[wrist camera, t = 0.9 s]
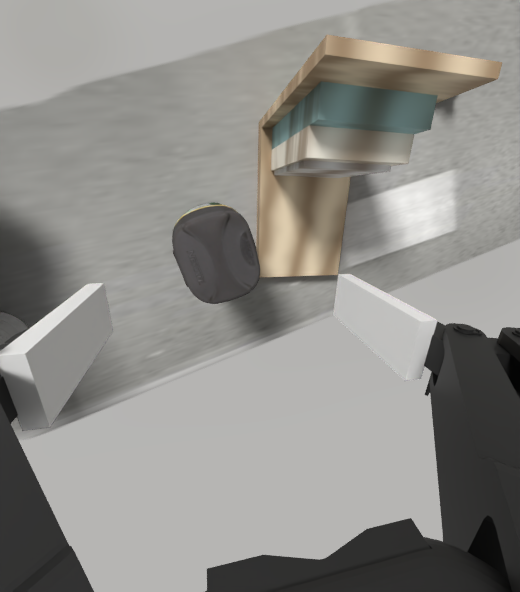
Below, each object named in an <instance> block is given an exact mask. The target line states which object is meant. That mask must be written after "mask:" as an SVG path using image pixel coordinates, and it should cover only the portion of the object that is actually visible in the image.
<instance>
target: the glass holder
mask: <svg viewBox="0 0 520 592" xmlns="http://www.w3.org/2000/svg"><path fill="white" fill-rule="evenodd" d="M26 329H28V327H27V326H26V325H25V324H24V323H23V322H22V321H21V320H20V319H18V318H16V317H14V316H12V315H10V314H7V313H3V312H0V345H1V344H4V342H6V341H7V340H8V339H10V338H11V337H12V336H14V335H15V334H17V333H20V332H22V331H24V330H26Z"/></svg>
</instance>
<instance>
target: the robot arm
mask: <svg viewBox="0 0 520 592" xmlns="http://www.w3.org/2000/svg"><path fill="white" fill-rule="evenodd" d="M333 316H335V317H336V318H337V319H338V320H339V321H340V322H341V323H342V324H343V325H344V326H346V327H347V328H348V329H349V330H350V331H351V332H352V333H353V334H354V335H355V336H356V337H358V338H359V339H360V340H361V341H362V342H363V343H364V344H365V345H366V346H367V347H369V348H370V349H371V350H372V351H373V352H374V353H375V354H376V355H377V356H378V357H380V358H381V359H382V360H383V361H384V362H385V363H386V364H387V365H388V366H389V367H391V368H392V369H393V370H394V371H395V372H396V373H397V374H398V375H399V376H400V377H402V378H403V379H404V380H405V381H408V380H415V379H421V376H422V373H423V370H424V366H425V367H427V368H428V369H429V370H431V371H432V373H431V376H430V379H429V383H428V386H427V389H426V393H425V395H427V396H428V394H429V393H431V404H432V416H433V427H434V439H435V450H436V461H437V473H438V484H439V495H440V506H441V516H442V517H441V518H442V529H443V542H442V541H439V540H434V539H430V538H425V537H423V536H422V535H421V533H420V531H419V530H418V529H417V527H416V525H415V524H414V522H413V521H412V519H411V518H410V519H406V520H402V521H398V522H394V523H390V524H385V525H382V526H377V527H373V528H369V529H366V530H365V531H364V532H362V533H361V534H359V535H358V536H356V537H355V538H354V539H352V540H351V541H349V542H348V543H347V544H346V545H344V546H342V547H341V548H340V549H338V550H337V551H336V552H334V553H333V554H331V555H330V556H329V557H327V558H325V559H321V560H315V559H304V558H293V557H281V556H270V555H261V556H257V557H253V558H249V559H245V560H241V561H237V562H233V563H229V564H225V565H221V566H217V567H213V568H208V569H207V591H205V592H520V328H510V327H506V328H502V330H501V332H500V335H499V337H498V339H497V338H487V337H486V335H485V334H484V333H483V332H482V331H480V330H478V329H475V328H473V327H471V326H469V325H465V324H455V323H454V324H447V325H446V326H445V325H443V324H441V323H439V322H438V321H437V320H436V319H434V318H432V317H430V316H429V315H427V314H425V313H423V312H421V311H419V310H417V309H415V308H414V307H412V306H410V305H408V304H406V303H404V302H402V301H400V300H398V299H397V298H395V297H392V296H391V295H389V294H387V293H385V292H383V291H381V290H379V289H378V288H376V287H374V286H372V285H370V284H368V283H366V282H364V281H362V280H361V279H359V278H357V277H355V276H353V275H351V274H339V275H338V282H337V290H336V298H335V305H334V313H333ZM112 332H113V326H112V321H111V316H110V311H109V306H108V301H107V296H106V290H105V285H104V283H95V284H87V285H85V286H84V287H83V288H82V289H80V290H79V291H78V292H76V293H75V294H74V295H72V296H71V297H70V298H69V299H67V300H66V301H65V302H63V303H62V304H61V305H59V306H58V307H57V308H56V309H54V310H53V311H52V312H50V313H49V314H48V315H46V316H45V317H44V318H43V319H41V320H40V321H39V322H37V323H36V324H35V325H33V326H32V327H31V328H28V329H26V330H24V331H22V332H20V333H17V334H15V335H14V336H12V337H11V338H10V339H8V340H7V341H6V342H4V344H1V345H0V592H94V591H93V589H92V587H91V585H90V583H89V581H88V578H87V576H86V574H85V573H84V570H83V568H82V566H81V564H80V562H79V560H78V558H77V557H76V554H75V552H74V551H73V549H72V547H71V546H69V544H68V543H67V540H66V538H65V536H64V534H63V532H62V530H61V528H60V526H59V524H58V522H57V520H56V518H55V516H54V514H53V511H52V509H51V507H50V505H49V503H48V501H47V499H46V497H45V495H44V493H43V491H42V489H41V487H40V485H39V482H38V481H37V478H36V476H35V474H34V472H33V470H32V468H31V466H30V464H29V462H28V460H27V457H26V456H25V453H24V451H23V449H22V447H21V445H20V443H19V441H18V439H17V437H16V435H15V433H14V430H13V428H12V426H11V423H12V421H13V420H14V419H15V418H16V417H17V418H18V421H19V423H20V426H21V428H22V431H25V430H33V429H41V428H48V427H50V426H51V425H52V423H53V422H54V420H55V419H56V417H57V416H58V414H59V413H60V411H61V410H62V408H63V407H64V405H65V404H66V402H67V401H68V399H69V398H70V396H71V395H72V393H73V391H74V390H75V388H76V387H77V385H78V384H79V382H80V381H81V379H82V378H83V376H84V375H85V373H86V372H87V370H88V369H89V367H90V366H91V364H92V363H93V361H94V359H95V358H96V356H97V355H98V353H99V352H100V350H101V349H102V347H103V346H104V344H105V343H106V341H107V340H108V338H109V337H110V335H111V334H112Z"/></svg>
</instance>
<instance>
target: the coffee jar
mask: <svg viewBox="0 0 520 592" xmlns="http://www.w3.org/2000/svg"><path fill="white" fill-rule="evenodd" d="M172 243H173V249H174V250H173V254H174V256H175V258H176V261H177V263H178V266H179V268H180V270H181V273H182V275H183V278H184V281H185V283H186V285H187V286H188V287H189V289H190V290H191V292H192V293H193V294H194V295H195V296H196V297H197V298H198V299H199V300H201V301H203V302H206V303H211V304H218V303H223V302H226V301H230V300H233V299H236V298H239V297H241V296H243V295H246V294H248V293H249V292H250V291H252V290H253V289H254V287H255V286H256V285H257V283H258V280H259V277H260V264H259V259H258V254H257V250H256V246H255V243H254V240H253V237H252V234H251V231H250V228H249V226H248V224H247V222H246V220H245V219H244V218H243V217H242V216H241V215H240V214H239V213H238V212H237V211H236V210H234V209H233V208H231V207H228V206H225V205H222V204H219V203H207V204H203V205H199V206H197V207H194V208H192V209H190V210H189V211H188V212H187V213H186V214H185V215H183V216H182V217H181V218H180V219H179V220H178V221H177V223H176V224H175V227H174V230H173V236H172Z"/></svg>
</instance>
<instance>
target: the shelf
mask: <svg viewBox="0 0 520 592" xmlns="http://www.w3.org/2000/svg"><path fill="white" fill-rule="evenodd" d="M501 66H502V62H496V61H490V60H484V59H477V58H471V57H465V56H458V55H452V54H446V53H439V52H433V51H427V50H420V49H414V48H408V47H402V46H395V45H389V44H383V43H376V42H370V41H364V40H357V39H351V38H345V37H338V36H332V35H326V37H325V38H324V39H323V40H322V42H321V43H320V44H319V46H318V47H317V48H316V49H315V51H314V52H313V53H312V55H311V56H310V57H309V58H308V60H307V61H306V62H305V64H304V65H303V66H302V68H301V69H300V70H299V71H298V73H297V74H296V75H295V77H294V78H293V79H292V80H291V82H290V83H289V84H288V86H287V87H286V88H285V89H284V91H283V92H282V93H281V95H280V96H279V97H278V98H277V100H276V101H275V102H274V104H273V105H272V106H271V108H270V109H269V110H268V111H267V113H266V114H265V115H264V117H263V118H262V119H261V120H260V122H259V143H258V192H257V242H256V250H257V254H258V259H259V264H260V277H287V276H316V275H338V268H339V261H340V253H341V246H342V238H343V231H344V223H345V216H346V208H347V200H348V193H349V185H350V178H351V176H359V175H366V174H374V173H382V172H389V171H390V169H391V166H396V165H402V164H408V163H409V158H410V153H411V148H412V143H413V138H414V134H417V133H420V132H424V131H427V130H430V129H431V124H432V119H433V115H434V110H435V106H436V103H438V102H441V101H443V100H446V99H448V98H451V97H454V96H456V95H459V94H461V93H464V92H466V91H469V90H471V89H474V88H476V87H479V86H481V85H484V84H486V83H489V82H492V81H494V80H497V79H498V77H499V73H500V70H501Z"/></svg>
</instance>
